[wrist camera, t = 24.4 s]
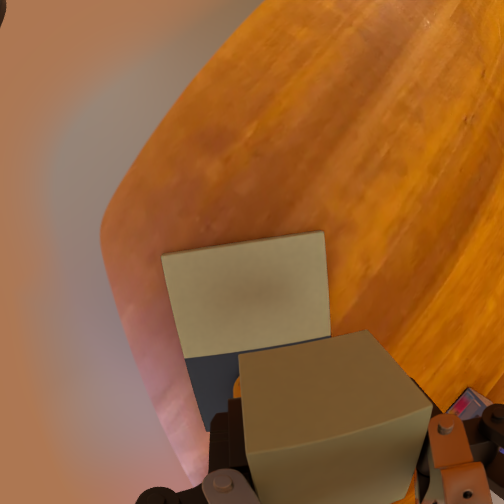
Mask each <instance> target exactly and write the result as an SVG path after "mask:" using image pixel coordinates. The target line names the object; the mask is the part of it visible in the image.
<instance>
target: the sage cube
mask: <svg viewBox="0 0 504 504" xmlns="http://www.w3.org/2000/svg"><path fill="white" fill-rule="evenodd" d="M238 359H239V373H240V387H241V400H242V413H243V426H244V438H245V450H246V457H247V460H248V464H249V468H250V472H251V475H252V479H253V483H254V486H255V490H256V494H257V497H258V498H259V500H260V501H261V503H262V504H390V503H393V502H395V501H398V500H400V499H403V498H404V497H405V495H406V493H407V490H408V487H409V485H410V482H411V479H412V476H413V474H414V471H415V468H416V465H417V462H418V459H419V456H420V452H421V449H422V446H423V442H424V439H425V435H426V432H427V428H428V424H429V421H430V417H431V413H432V408H433V404H432V403H431V402H430V401H429V399H428V398H427V397H426V396H425V395H424V394H423V392H422V391H421V390H420V389H419V388H418V387H417V385H416V384H415V383H414V382H413V381H412V380H411V379H410V377H409V376H408V375H407V374H406V373H405V372H404V370H403V369H402V368H401V367H400V366H399V365H398V364H397V362H396V361H395V360H394V359H393V358H392V357H391V356H390V355H389V353H388V352H387V351H386V350H385V349H384V348H383V347H382V345H381V344H380V343H379V342H378V341H377V340H376V339H375V338H374V336H373V335H372V334H371V333H370V332H369V331H368V330H363V331H359V332H354V333H350V334H346V335H341V336H337V337H332V338H327V339H322V340H318V341H313V342H308V343H302V344H297V345H292V346H286V347H281V348H275V349H269V350H263V351H257V352H250V353H244V354H239V355H238Z"/></svg>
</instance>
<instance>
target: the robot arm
mask: <svg viewBox="0 0 504 504" xmlns="http://www.w3.org/2000/svg"><path fill="white" fill-rule="evenodd" d="M410 379H411V380H412V381H413V382H414V383H415V384H416V385H417V387H418V388H419V389H420V390H421V391H422V392H423V394H424V395H425V396H426V397H427V398H428V399H429V401H430V402H431V403H432V404H433V408H432V413H431V417H430V421H429V424H428V428H427V432H426V435H425V439H424V442H423V446H422V449H421V452H420V456H419V459H418V462H417V465H416V468H415V471H414V485H415V503H416V504H493V503H492V499H491V494H490V490H492V491H493V492H494V493H495V494H497V495H498V496H499V497H500V498H502V499H503V500H504V454H503V453H501V452H500V451H499V450H500V448H503V449H504V405H503V404H492V405H489V406H487V407H486V408H485V409H484V410H483V412H482V415H481V417H478V418H473V419H468V420H461V419H460V418H459V417H458V416H456V415H453V414H449V413H442V412H441V410H440V409H439V408H438V407H437V406H436V405H435V403H434V402H433V401H432V400H431V399H430V398H429V396H428V395H427V394H426V393H424V391H423V390H422V388H421V387H419V385H418V384H417V383H416V382H415V380H414V379H413V378H411V377H410ZM135 504H262V503H261V501H260V500H259V498H258V497H257V494H256V490H255V486H254V483H253V479H252V475H251V472H250V468H249V464H248V460H247V457H246V450H245V438H244V426H243V413H242V400H241V397H238V398H231V399H228V412H220V413H216V414H215V416H214V417H213V419H212V420H211V422H210V444H209V471H208V475H207V476H206V477H205V478H204V480H203V482H202V483H201V484H199V485H198V486H196V487H194V488H191V489H188V490H185V491H182V492H178V493H175V492H174V491H173V490H171V489H169V488H165V487H153V488H150V489H148V490H146V491H144V492H143V493H142V494H141V495H140V496H139V498H138V499H137V502H136V503H135Z"/></svg>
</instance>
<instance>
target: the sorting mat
mask: <svg viewBox="0 0 504 504" xmlns="http://www.w3.org/2000/svg"><path fill="white" fill-rule="evenodd" d="M161 260H162V265H163V270H164V275H165V280H166V284H167V289H168V293H169V298H170V302H171V307H172V311H173V315H174V319H175V323H176V327H177V331H178V335H179V339H180V343H181V347H182V351H183V355H184V358H185V362H186V366H187V369H188V373H189V377H190V380H191V384H192V387H193V390H194V394H195V397H196V401H197V404H198V407H199V410H200V414H201V417H202V420H203V423H204V426H205V429H206V432H210V422H211V420H212V419H213V417H214V416H215V414H216V413H220V412H228V399H231V398H233V387H234V384H235V382H236V380H237V378H238V377H239V376H240V373H239V359H238V355H239V354H244V353H250V352H257V351H263V350H269V349H275V348H281V347H286V346H292V345H297V344H302V343H308V342H313V341H318V340H322V339H327V338H331V329H330V308H329V291H328V276H327V262H326V250H325V239H324V232H323V231H321V230H318V231H311V232H304V233H297V234H290V235H283V236H276V237H269V238H263V239H256V240H249V241H243V242H236V243H229V244H223V245H216V246H209V247H203V248H196V249H190V250H183V251H177V252H170V253H164V254H162V255H161Z"/></svg>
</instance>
